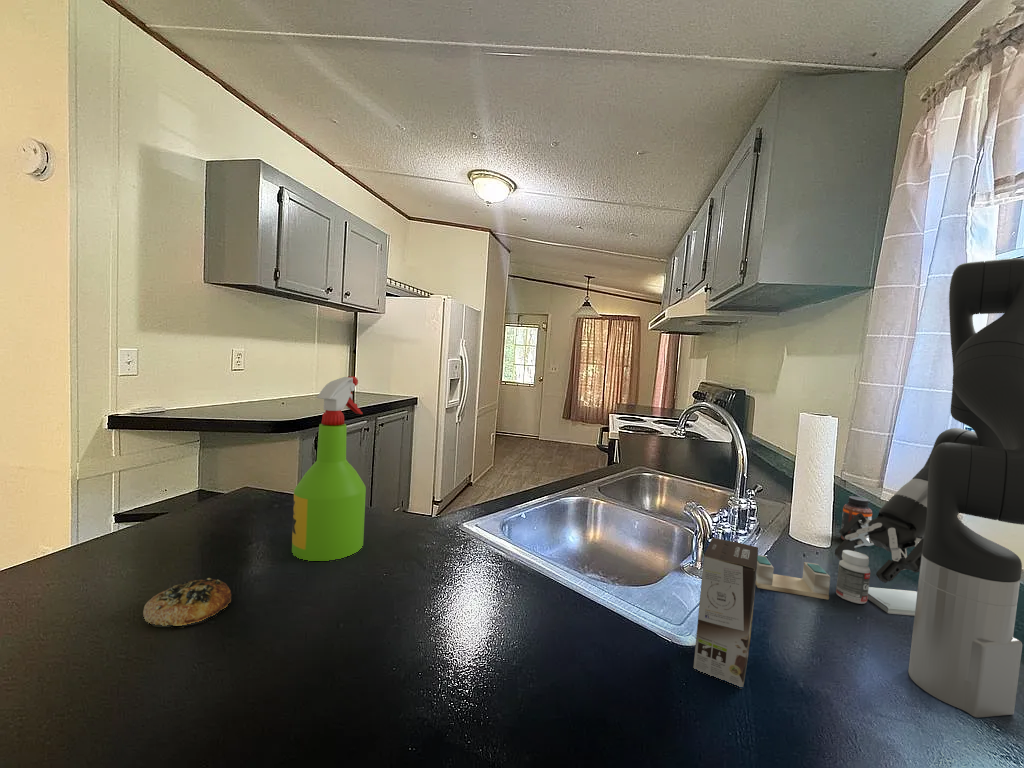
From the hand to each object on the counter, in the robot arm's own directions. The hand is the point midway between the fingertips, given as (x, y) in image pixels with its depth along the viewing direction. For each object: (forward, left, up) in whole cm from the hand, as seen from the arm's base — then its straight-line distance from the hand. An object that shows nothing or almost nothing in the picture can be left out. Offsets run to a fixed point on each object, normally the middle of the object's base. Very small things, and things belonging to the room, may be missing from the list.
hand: (858, 567), depth 85 cm
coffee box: (-15, +38, -6) cm, 42 cm away
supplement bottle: (+26, -28, -6) cm, 39 cm away
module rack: (+5, +10, -6) cm, 13 cm away
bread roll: (+3, +115, -6) cm, 115 cm away
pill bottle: (0, +1, -6) cm, 6 cm away
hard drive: (-2, -8, -7) cm, 11 cm away
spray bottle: (+27, +99, -6) cm, 103 cm away
